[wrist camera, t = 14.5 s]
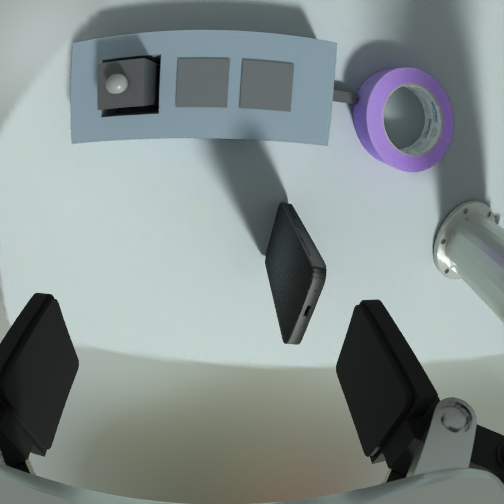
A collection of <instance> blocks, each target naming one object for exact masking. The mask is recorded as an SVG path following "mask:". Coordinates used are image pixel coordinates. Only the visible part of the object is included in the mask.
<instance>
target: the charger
mask: <svg viewBox="0 0 504 504" xmlns="http://www.w3.org/2000/svg"><path fill="white" fill-rule="evenodd" d="M160 67H161V65H159V64H157V63H155V62H153V61H150V60H148V59H146V58H140V59H130V60H121V61H113V62H106V63H99V64H98V85H97V110H103V109H112V108H123V107H136V106H147V105H153V104H159V88H160Z"/></svg>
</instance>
